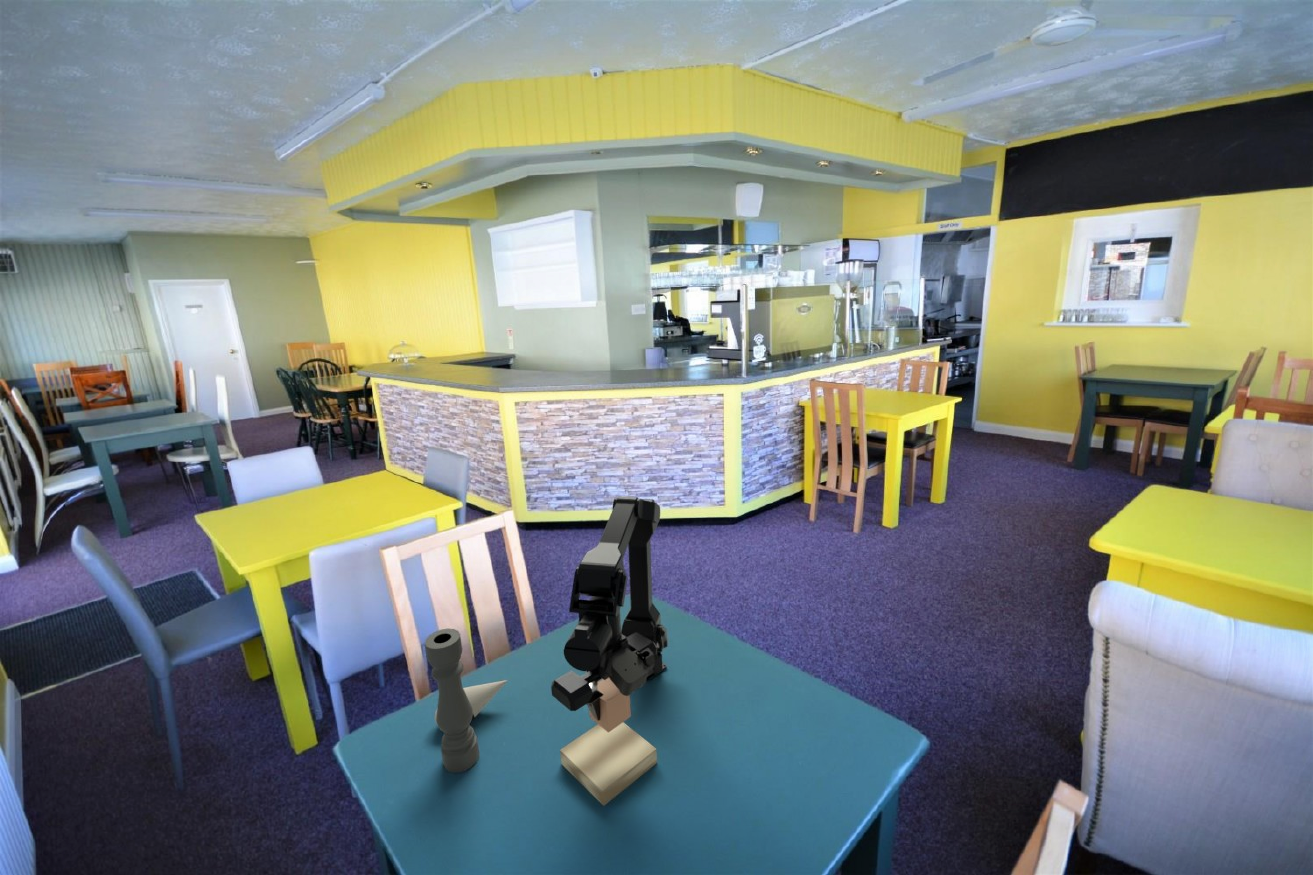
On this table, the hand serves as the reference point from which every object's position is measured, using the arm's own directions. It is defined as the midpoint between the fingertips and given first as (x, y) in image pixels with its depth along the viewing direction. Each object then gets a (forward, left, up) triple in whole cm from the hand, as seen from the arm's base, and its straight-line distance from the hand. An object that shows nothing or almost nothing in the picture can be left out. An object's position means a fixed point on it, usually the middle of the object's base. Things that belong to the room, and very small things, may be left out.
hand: (609, 710), depth 98 cm
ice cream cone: (-30, -12, -11) cm, 34 cm away
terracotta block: (0, 0, -1) cm, 1 cm away
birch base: (-1, -1, -11) cm, 11 cm away
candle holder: (-21, -19, -11) cm, 30 cm away
